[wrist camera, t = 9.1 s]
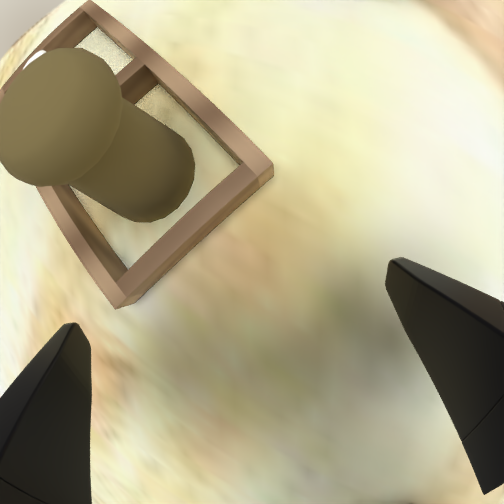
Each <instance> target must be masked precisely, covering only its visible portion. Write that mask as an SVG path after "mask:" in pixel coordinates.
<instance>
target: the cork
mask: <svg viewBox="0 0 504 504" xmlns="http://www.w3.org/2000/svg"><path fill="white" fill-rule="evenodd" d="M0 162H1V163H2V164H3V166H4V167H5V168H6V170H7V171H8V172H9V173H10V174H11V175H12V176H14V177H15V178H16V179H18V180H21V181H23V182H25V183H28V184H31V185H34V186H38V187H44V186H55V185H65V184H69V185H70V186H72V187H74V188H75V189H77V190H79V191H80V192H82V193H84V194H85V195H87V196H89V197H90V198H92V199H94V200H95V201H97V202H99V203H100V204H102V205H104V206H105V207H107V208H109V209H110V210H112V211H114V212H115V213H117V214H119V215H121V216H122V217H124V218H127V219H129V220H132V221H134V222H152V221H155V220H158V219H161V218H165V217H166V216H167V215H169V214H170V213H171V212H173V211H174V210H176V209H177V208H178V207H179V206H180V204H181V203H182V202H183V200H184V199H185V198H186V197H187V195H188V193H189V190H190V188H191V185H192V183H193V180H194V170H195V162H194V158H193V154H192V150H191V148H190V147H189V145H188V144H187V142H186V141H185V139H184V138H183V137H181V136H180V135H178V134H177V133H176V132H174V131H173V130H171V129H170V128H168V127H167V126H165V125H164V124H162V123H161V122H159V121H158V120H156V119H155V118H153V117H152V116H150V115H149V114H147V113H146V112H144V111H143V110H141V109H139V108H138V107H136V106H135V105H133V104H132V103H130V102H129V101H127V100H125V99H124V98H122V94H121V88H120V85H119V82H118V80H117V78H116V76H115V75H114V73H113V71H112V70H111V68H110V67H109V65H108V64H107V63H106V62H105V61H104V60H103V59H102V58H100V57H98V56H97V55H95V54H93V53H91V52H89V51H87V50H85V49H83V48H57V49H54V50H51V51H49V52H46V53H44V54H42V55H41V56H39V57H38V58H36V59H35V60H33V61H32V62H30V63H29V64H28V65H27V66H26V67H25V68H24V69H23V70H22V71H21V72H20V73H19V74H18V75H17V76H16V78H15V79H14V81H13V82H12V83H11V85H10V86H9V88H8V89H7V91H6V93H5V95H4V97H3V99H2V101H1V103H0Z"/></svg>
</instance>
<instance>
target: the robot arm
mask: <svg viewBox="0 0 504 504" xmlns="http://www.w3.org/2000/svg"><path fill="white" fill-rule="evenodd" d="M385 286H386V290H387V292H388V294H389V296H390V299H391V301H392V303H393V305H394V307H395V310H396V312H397V314H398V316H399V319H400V321H401V323H402V325H403V327H404V329H405V331H406V333H407V335H408V337H409V339H410V341H411V342H412V344H413V346H414V348H415V349H416V351H417V353H418V355H419V357H420V359H421V360H422V362H423V364H424V366H425V368H426V370H427V372H428V374H429V375H430V377H431V379H432V381H433V383H434V385H435V387H436V389H437V391H438V393H439V395H440V397H441V399H442V401H443V403H444V405H445V407H446V409H447V411H448V413H449V415H450V417H451V420H452V422H453V424H454V426H455V428H456V430H457V432H458V435H459V437H460V439H461V441H462V444H463V446H464V449H465V451H466V453H467V455H468V458H469V460H470V463H471V465H472V467H473V470H474V472H475V475H476V477H477V480H478V482H479V485H480V487H481V490H482V492H483V494H484V495H485V494H487V493H489V492H490V491H492V490H494V489H495V488H497V487H499V486H500V485H502V484H504V302H503V301H499V300H498V299H496V298H494V297H492V296H490V295H488V294H485V293H483V292H481V291H479V290H477V289H475V288H472V287H470V286H468V285H466V284H464V283H461V282H459V281H457V280H455V279H452V278H450V277H448V276H446V275H443V274H441V273H439V272H436V271H434V270H432V269H429V268H427V267H425V266H422V265H420V264H418V263H415V262H413V261H411V260H408V259H406V258H403V257H399V258H395V259H392V260H390V261H389V264H388V269H387V275H386V281H385ZM91 403H92V383H91V346H90V343H89V341H88V339H87V338H86V336H85V334H84V333H83V331H82V329H81V328H80V326H79V325H78V324H77V323H67V324H64V325H63V326H62V327H61V328H60V329H59V330H58V331H57V332H56V333H55V334H54V335H53V337H52V338H51V339H50V340H49V341H48V342H47V343H46V344H45V345H44V347H43V348H42V349H41V350H40V351H39V352H38V353H37V354H36V356H35V357H34V358H33V359H32V360H31V361H30V363H29V364H28V365H27V366H26V367H25V368H24V370H23V371H22V372H21V373H20V374H19V376H18V377H17V378H16V379H15V380H14V382H13V383H12V384H11V385H10V386H9V388H8V389H7V390H6V391H5V393H4V394H3V395H2V396H1V398H0V504H92V498H91V478H90V425H91Z"/></svg>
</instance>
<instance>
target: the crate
mask: <svg viewBox="0 0 504 504" xmlns="http://www.w3.org/2000/svg"><path fill="white" fill-rule="evenodd" d="M96 27H98V28H99V29H100V30H102V31H103V32H104V33H105V34H106V35H107V36H108V37H109V38H111V39H112V40H113V41H114V42H115V43H116V44H117V45H118V46H119V47H120V48H121V49H123V50H124V51H125V52H126V53H127V54H128V55H129V56H130V57H131V58H132V59H133V61H131V62H130V63H129V64H128V65H127V66H126V67H124V68H123V69H122V70H121V71H120V72H119V73H118V74H116V75H115V76H116V78H117V80H118V82H119V85H120V88H121V94H122V98H124V99H125V100H127V101H129V102H130V103H132V104H133V105H134V104H135V103H136V102H137V101H138V100H140V99H141V98H142V97H143V96H144V95H145V94H146V93H147V92H149V91H150V90H151V89H152V88H153V87H154V86H156V85H157V84H158V83H159V84H160V85H161V86H162V87H163V88H164V89H165V90H166V91H167V92H168V93H169V94H170V95H171V96H172V97H173V98H174V99H175V100H176V101H177V102H178V103H179V104H180V105H181V106H182V107H183V108H184V109H185V110H186V111H187V112H188V113H189V114H190V115H191V116H192V117H193V118H194V119H195V120H196V121H197V122H198V123H199V124H200V125H201V126H202V127H203V128H204V129H205V130H206V131H207V132H208V133H209V134H210V135H211V136H212V137H213V138H214V139H215V140H216V141H217V142H218V143H219V144H220V145H221V146H222V147H223V148H224V149H225V150H226V151H227V152H228V154H229V155H230V156H231V157H232V158H233V159H234V160H235V161H236V162H237V163H238V164H239V165H240V166H239V167H238V168H236V169H235V170H234V171H233V172H232V173H231V174H230V175H228V176H227V177H226V178H225V179H224V180H223V181H222V182H220V183H219V184H218V185H217V186H216V187H215V188H214V189H213V190H212V191H210V192H209V193H208V194H207V195H206V196H205V197H204V198H203V199H202V200H200V201H199V202H198V203H197V204H196V205H195V206H194V207H193V208H192V209H191V210H190V211H189V212H187V213H186V214H185V215H184V216H183V217H182V218H181V219H180V220H179V221H178V222H177V223H176V224H175V225H174V226H173V227H171V228H170V229H169V230H168V231H167V232H166V233H165V234H164V235H163V236H162V237H161V238H160V239H159V240H158V241H157V242H156V243H155V244H154V245H153V246H152V247H151V248H150V249H149V250H148V251H147V252H146V253H145V254H144V255H143V256H142V257H141V258H140V259H139V260H138V261H137V262H136V263H135V264H134V265H133V266H132V267H131V268H130V269H129V270H127V268H126V267H125V266H124V264H123V263H122V262H121V260H120V259H119V258H118V256H117V255H116V254H115V252H114V251H113V249H112V248H111V247H110V245H109V244H108V243H107V241H106V240H105V238H104V237H103V236H102V234H101V233H100V231H99V230H98V228H97V227H96V226H95V224H94V223H93V221H92V220H91V218H90V217H89V215H88V214H87V212H86V211H85V209H84V208H83V206H82V205H81V203H80V202H79V200H78V199H77V197H76V196H75V194H74V193H73V191H72V189H71V188H70V186H69V185H68V184H65V185H55V186H44V187H38V186H36V188H37V190H38V192H39V193H40V195H41V197H42V199H43V201H44V202H45V204H46V206H47V208H48V209H49V211H50V213H51V215H52V216H53V218H54V220H55V221H56V223H57V225H58V226H59V228H60V230H61V231H62V233H63V234H64V236H65V238H66V239H67V241H68V242H69V244H70V246H71V247H72V249H73V250H74V252H75V253H76V255H77V256H78V258H79V259H80V261H81V262H82V264H83V265H84V267H85V268H86V270H87V271H88V273H89V274H90V276H91V277H92V278H93V280H94V281H95V283H96V284H97V285H98V287H99V288H100V290H101V291H102V292H103V294H104V295H105V297H106V298H107V299H108V301H109V302H110V303H111V305H112V306H113V307H114V309H118V308H121V307H124V306H128V305H131V304H134V303H135V302H136V301H137V300H138V299H139V298H141V297H142V296H143V295H144V294H145V293H146V292H147V291H148V290H149V289H150V288H151V287H152V286H153V285H154V284H155V283H156V282H157V281H158V280H159V279H160V278H161V277H162V276H164V275H165V274H166V273H167V272H168V271H169V270H170V269H171V268H172V267H173V266H174V265H175V264H176V263H177V262H178V261H179V260H181V259H182V258H183V257H184V256H185V255H186V254H187V253H188V252H189V251H190V250H191V249H192V248H193V247H195V246H196V245H197V244H198V243H199V242H200V241H201V240H202V239H203V238H204V237H205V236H207V235H208V234H209V233H210V232H211V231H212V230H213V229H214V228H215V227H216V226H218V225H219V224H220V223H221V222H222V221H223V220H224V219H225V218H226V217H228V216H229V215H230V214H231V213H232V212H233V211H234V210H235V209H236V208H238V207H239V206H240V205H241V204H242V203H243V202H244V201H246V200H247V199H248V198H249V197H250V196H251V195H252V194H253V193H255V192H256V191H257V190H258V189H259V188H260V187H261V186H263V185H264V184H265V183H266V182H267V181H268V180H270V179H271V178H272V177H273V176H274V170H273V163H272V162H271V160H270V159H269V158H268V157H267V156H266V155H265V154H264V153H263V152H262V151H261V150H260V149H259V148H258V147H257V146H256V145H255V144H254V143H253V142H252V141H251V140H250V139H249V138H248V137H247V136H246V135H245V134H244V133H243V132H242V131H241V130H240V129H239V128H238V127H237V126H236V125H235V124H234V123H233V122H232V121H231V120H230V119H229V118H228V117H227V116H226V115H224V114H223V113H222V112H221V111H220V110H219V109H218V108H217V107H216V106H215V105H214V104H213V103H212V102H211V101H210V100H209V99H208V98H207V97H205V96H204V95H203V94H202V93H201V92H200V91H199V90H198V89H197V88H196V87H195V86H194V85H192V84H191V83H190V82H189V81H188V80H187V79H186V78H185V77H184V76H183V75H181V74H180V73H179V72H178V71H177V70H176V69H175V68H174V67H172V66H171V65H170V64H169V63H168V62H167V61H166V60H164V59H163V58H162V57H161V56H160V55H159V54H157V53H156V52H155V51H154V50H153V49H152V48H150V47H149V46H148V45H147V44H146V43H144V42H143V41H142V40H141V39H140V38H138V37H137V36H136V35H135V34H134V33H132V32H131V31H130V30H129V29H127V28H126V27H125V26H124V25H122V24H121V23H120V22H119V21H117V20H116V19H115V18H114V17H112V16H111V15H110V14H108V13H107V12H106V11H104V10H103V9H102V8H101V7H99V6H98V5H97V4H95V3H94V2H93V1H91V0H88V1H87V2H85V3H84V4H83V5H82V6H81V7H79V8H78V9H77V10H76V11H75V12H74V13H72V14H71V15H70V16H69V17H68V18H67V19H66V20H64V21H63V22H62V23H61V24H60V25H59V26H58V27H57V28H56V29H55V30H54V31H53V32H52V33H51V34H50V35H49V36H48V37H47V38H46V39H45V40H44V41H43V42H42V43H41V44H40V45H39V46H38V47H37V48H36V49H35V50H34V51H33V52H32V53H31V54H30V55H29V56H28V57H27V58H26V60H25V61H24V62H23V63H22V64H21V65H20V66H19V67H18V69H17V70H16V71H15V72H14V73H13V74H12V76H11V77H10V78H9V79H8V80H7V82H6V83H5V84H4V85H3V87H2V88H1V89H0V103H1V101H2V99H3V97H4V95H5V93H6V91H7V89H8V88H9V86H10V85H11V83H12V82H13V81H14V79H15V78H16V76H17V75H18V74H19V73H20V72H21V71H22V70H23V68H24V66H25V64H26V63H27V62H28V60H29V59H30V58H31V57H32V56H33V55H34V54H36V53H37V52H38V51H41V50H44V51H46V52H49V51H51V50H54V49H57V48H74V47H75V46H76V45H77V44H78V43H79V42H80V41H82V40H83V39H84V38H85V37H86V36H87V35H88V34H89V33H91V32H92V31H93V30H94V29H95V28H96Z"/></svg>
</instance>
